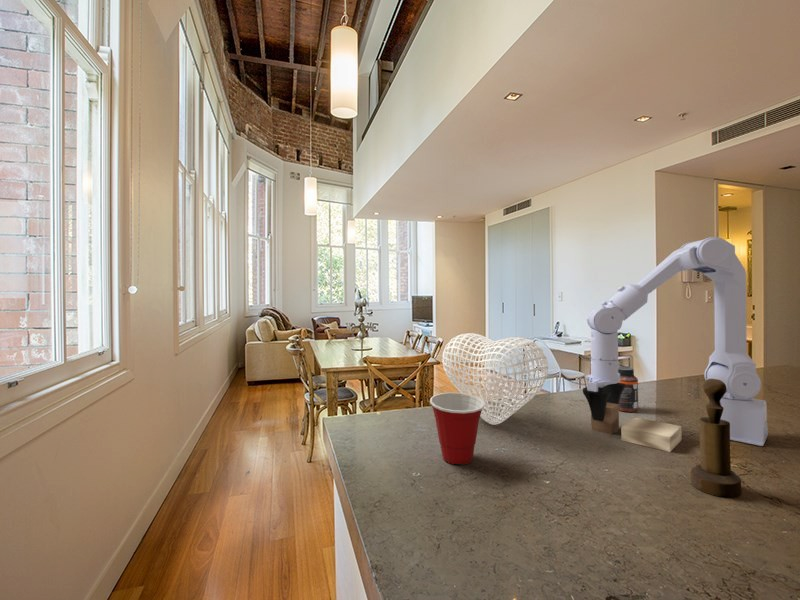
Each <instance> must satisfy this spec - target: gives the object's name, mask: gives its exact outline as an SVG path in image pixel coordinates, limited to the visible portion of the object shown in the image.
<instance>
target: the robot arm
mask: <svg viewBox="0 0 800 600" xmlns="http://www.w3.org/2000/svg"><path fill="white" fill-rule="evenodd" d="M689 270H691V271H696V272H698V273H701V274H702V275H704V276H705V277H707V278H709V279H710V280H711V281H713V283H714V284H713V285H714V287H713V288H714V289H713V290H714V291H713V292H714V296H713V297H714V302H713V303H714V305H713V306H714V351H713V352H712V353H711V354H710V355H709V357H708V365H707V367H706V368H705V370H704V379H705V381H706V380H707V379H718V380H721V381H723V382H724V383H725V385H726V388H727V390H726V393H725V394H724V396H723V397H722V398H721V400H720V404H721V406H722V407H723V413H722V416H721V419H722V420H725V421H728V422H729V423H730V441H734V442H738V443H739V442H740V443H745V444H750V445H754V446H759V447H764V445H765V442H766V440H767V437H768V435H769V427H768V423H767V422H768V415H767V414H768V413H767V412H768V409H767V408H768V407H767V401H766V400H764V399H758V398H755V397H756V396H757V395H758V393H759V392H760V391H761V388H762V380H761V377H759V374H758V373H757V365H756V363H755V361H753V359H752V358H751V357H750V355H749V354H748V353H747V347H748V346H747V343H748V342H747V271H746V269H745V267H744V265H743V264H742V262H741V260H740V259H739V257H738V256H737V254H736V247H735V245H734V244H732V243H731V242H729V241H727V240H726V239H724V238H722V237H719V236H710V237H707V238H704V239H701V240H695V241H689V242H685V243H684V244H683V245H681V246H680V248H677V249H675V250H674V251H672V252H671V253H670V254H669V255H668V256H667V257H665V258H664V259H663V260H661V262H660V263H659V264H658V265H657V266H655V267H654V268H653V269H652V270H651V271H650V272H649V273H648V274H646V275H645V276H644V277H643V278H642V279H641V280H639V282H637V283H636V284H630V283H628V284H626V285H622V286H619V287H618V288H617V292H616V293H615V294H614V295H613V296H611V298H609V299H608V300H603V301H602V302H601V303H600V305H601V306H602V307H597V308H594V309H593V310H592V311H590V313H589V316H588V318H587V319H586V322H587V324H588V326H589V328H590V374H586V375H585V379H586V380H589V381H587V382H586V384H587V385H586V387H583V388H582V393H583V396H584V397H585V399H586V400H587V403H588V405H589V410H590V414H592V417H593V420H597V421H604V417H605V410H606V404H607V402H608V403H614V404H618V403H619V399H620V396H621V394H622V392H623V390H624V388H625V386H626V385H625V384H624V383H619V381H620V373H618V367H619V340H618V339H619V338H618V337H619V336H618V333H619V332H618V331H619V330H620V329H621V328H622V326H623V321H627V319H629V318H630V317H631V316H632V315H634V314H635V313H636V312H637V311H638V310H640V309H641V308H642V307H643V306H645V305H646V304H647V303H648V300H649V299H648V297H649V294H651V293H652V292H653V291H655V290H656V289H657V288H659V287H660V286H662V285H663V284H664V283H666V282H667V281H668V280H669V279H671V278H672V277H674V276H675V275H676V274H678V273H680V272H684V271H685V272H686V271H689Z"/></svg>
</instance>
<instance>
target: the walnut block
mask: <svg viewBox="0 0 800 600" xmlns="http://www.w3.org/2000/svg"><path fill="white" fill-rule="evenodd" d="M590 414H591V413H590ZM590 418H591V420H590V421H591V422H590V425H591V426H590V427H591V431H595V432H598V433H599V432H600V433H604V434H608V435H611V436H612V435H614V434H615V433H616V432H618V431H619V430H620V411H619V404H614V403H608V402H607V404H606V410H605V417H604V421H597V420H593V417H592V414H591V415H590Z"/></svg>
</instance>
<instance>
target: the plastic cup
mask: <svg viewBox="0 0 800 600" xmlns="http://www.w3.org/2000/svg"><path fill="white" fill-rule="evenodd" d="M465 393H466V392H464V393H460V392H452V391H451V392H441V393H439V394H434V395H432V396H431V397H430V400H429V403H430V405H431V407H432V411H433V413H434V418H435V423H436V430H437V436H438V440H439V445H440V449H441V455H442V459H443V460H444V462H445V461H447V462H448V464H450V463H451V464H450V465H454V464H463V465H467V464H470V463H471V462H472V461H473V457H474V451H475V445H476V441H477V435H478V428H479V422H480V419H481V416H480V414H481V412H482V411H483V410H482V409H483V408H484V407H485V406H486V405H485V402H484V400H482V399H481V397H480V398H479V397H477V396H476V395H474V394H473V395H471V394H465ZM447 462H446V463H447Z"/></svg>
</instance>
